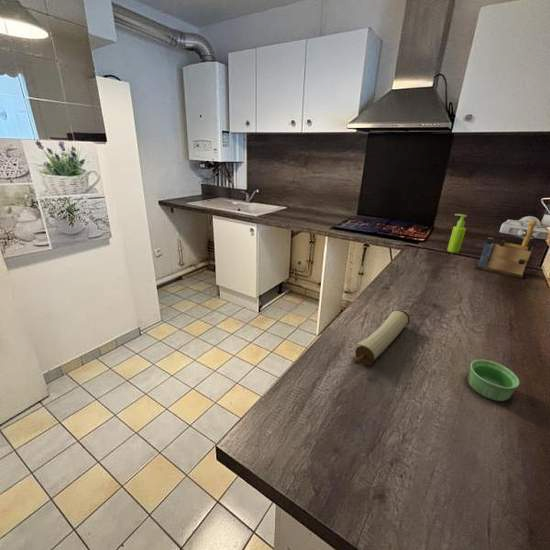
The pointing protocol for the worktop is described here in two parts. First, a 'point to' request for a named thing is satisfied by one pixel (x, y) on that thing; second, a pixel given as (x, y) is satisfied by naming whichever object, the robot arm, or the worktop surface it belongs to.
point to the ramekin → (492, 380)
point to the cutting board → (504, 259)
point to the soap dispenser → (457, 235)
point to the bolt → (527, 237)
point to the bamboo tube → (381, 338)
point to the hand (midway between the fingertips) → (528, 235)
